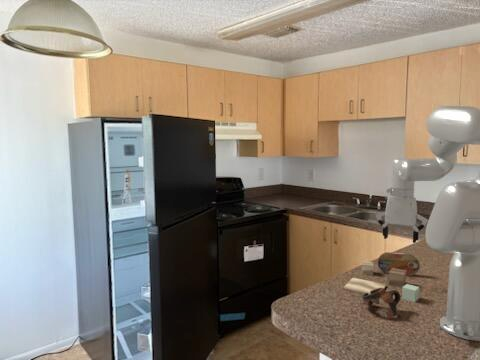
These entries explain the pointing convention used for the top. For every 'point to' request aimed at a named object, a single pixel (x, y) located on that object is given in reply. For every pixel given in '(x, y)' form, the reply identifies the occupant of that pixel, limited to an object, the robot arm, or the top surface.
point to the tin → (398, 262)
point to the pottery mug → (386, 298)
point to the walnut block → (397, 277)
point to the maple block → (368, 268)
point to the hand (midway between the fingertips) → (399, 240)
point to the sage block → (410, 293)
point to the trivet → (362, 286)
